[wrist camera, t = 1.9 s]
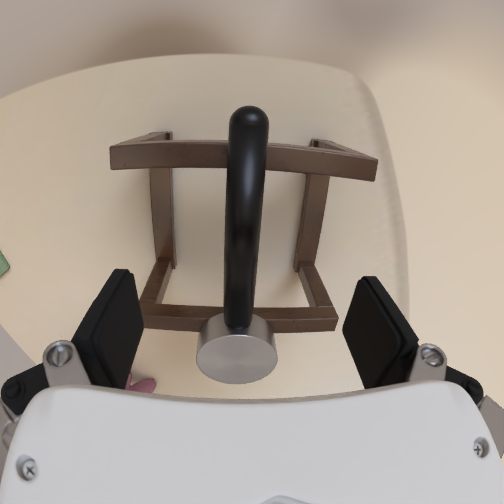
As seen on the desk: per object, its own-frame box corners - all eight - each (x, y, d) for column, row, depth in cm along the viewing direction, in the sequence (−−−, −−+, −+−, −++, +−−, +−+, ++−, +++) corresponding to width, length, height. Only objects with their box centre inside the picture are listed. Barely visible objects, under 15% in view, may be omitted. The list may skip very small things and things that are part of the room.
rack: (151, 132, 18) (105, 146, 11) (331, 141, 19) (382, 160, 12) (159, 263, 23) (133, 327, 16) (310, 268, 24) (337, 331, 17)
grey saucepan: (193, 105, 10) (185, 103, 9) (304, 111, 11) (316, 111, 9) (201, 360, 18) (199, 383, 16) (269, 361, 18) (272, 383, 17)
